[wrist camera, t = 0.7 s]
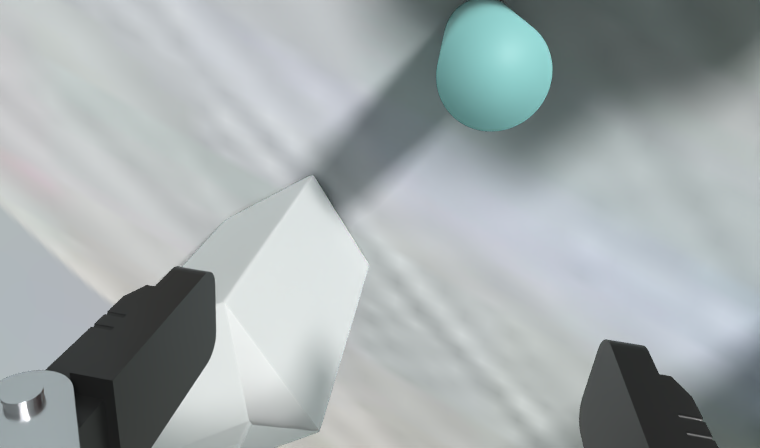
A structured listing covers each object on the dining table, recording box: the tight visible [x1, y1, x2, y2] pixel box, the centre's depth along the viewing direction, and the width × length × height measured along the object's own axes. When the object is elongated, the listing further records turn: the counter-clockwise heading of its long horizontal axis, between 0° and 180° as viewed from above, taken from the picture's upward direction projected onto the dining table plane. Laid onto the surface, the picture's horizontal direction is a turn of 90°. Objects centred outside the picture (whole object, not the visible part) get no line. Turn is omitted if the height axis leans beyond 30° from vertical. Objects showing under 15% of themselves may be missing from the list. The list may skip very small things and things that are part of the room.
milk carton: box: [152, 175, 369, 448], centre depth 29 cm, size 7×7×19 cm
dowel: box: [436, 0, 552, 131], centre depth 25 cm, size 4×4×12 cm
